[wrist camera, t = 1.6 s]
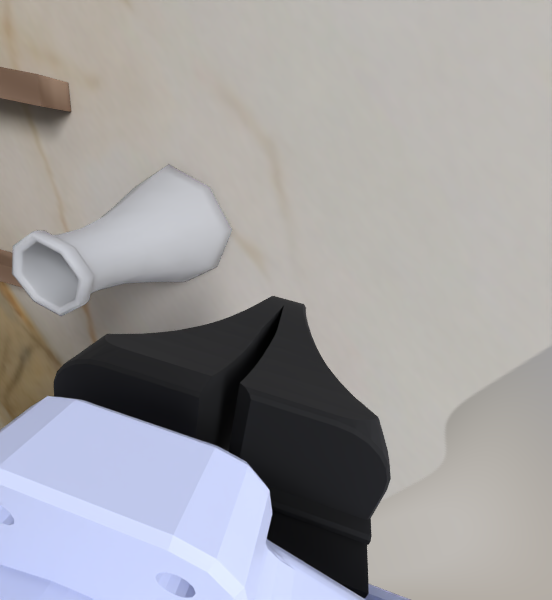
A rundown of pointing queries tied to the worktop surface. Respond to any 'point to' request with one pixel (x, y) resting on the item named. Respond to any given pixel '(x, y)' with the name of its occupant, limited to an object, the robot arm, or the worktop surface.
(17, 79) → the walnut bay
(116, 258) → the flask
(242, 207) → the worktop surface
